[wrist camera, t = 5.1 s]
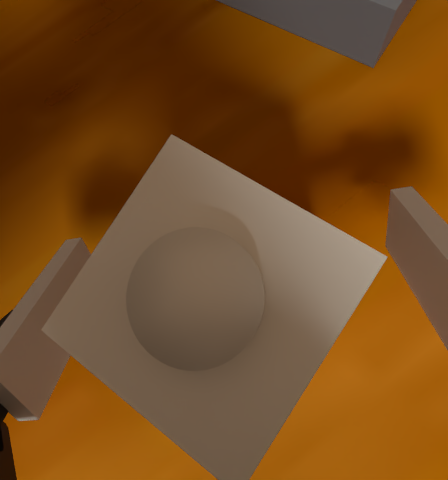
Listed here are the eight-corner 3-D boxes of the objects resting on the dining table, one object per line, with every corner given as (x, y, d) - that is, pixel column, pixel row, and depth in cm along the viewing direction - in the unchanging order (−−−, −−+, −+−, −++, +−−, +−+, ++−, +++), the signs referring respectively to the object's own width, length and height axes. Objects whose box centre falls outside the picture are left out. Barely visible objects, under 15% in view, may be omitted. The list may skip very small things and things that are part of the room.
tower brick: (177, 309, 19) (15, 333, 8) (233, 222, 19) (160, 118, 8) (265, 373, 18) (232, 522, 6) (325, 278, 18) (400, 252, 6)
